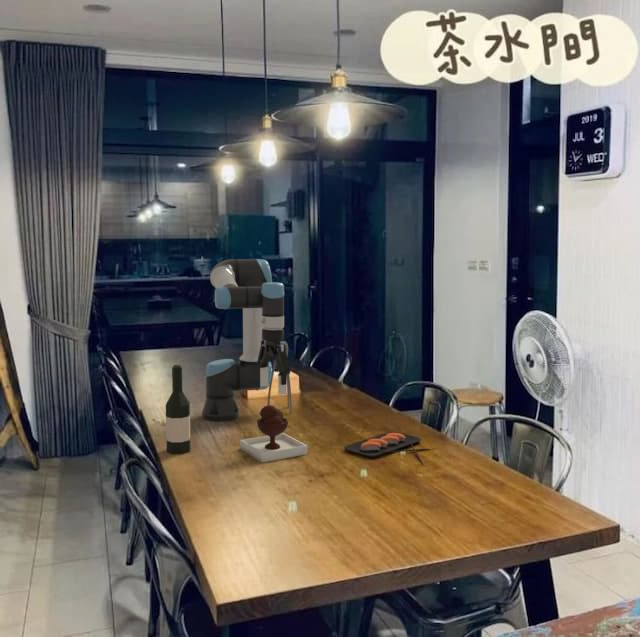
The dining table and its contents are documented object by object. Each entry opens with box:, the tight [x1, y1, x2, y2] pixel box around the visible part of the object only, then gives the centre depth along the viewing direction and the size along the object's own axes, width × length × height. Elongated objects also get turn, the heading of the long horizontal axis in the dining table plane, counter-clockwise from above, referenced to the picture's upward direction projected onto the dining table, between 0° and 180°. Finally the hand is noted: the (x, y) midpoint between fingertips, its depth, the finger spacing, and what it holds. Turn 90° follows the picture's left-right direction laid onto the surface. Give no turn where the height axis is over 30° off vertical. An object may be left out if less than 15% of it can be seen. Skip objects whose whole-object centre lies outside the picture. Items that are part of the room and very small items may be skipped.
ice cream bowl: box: [256, 404, 289, 450], centre depth 233 cm, size 11×11×15 cm
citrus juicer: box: [267, 340, 293, 415], centre depth 289 cm, size 11×10×30 cm
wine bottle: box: [165, 364, 192, 455], centre depth 232 cm, size 8×8×30 cm
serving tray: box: [239, 432, 309, 463], centre depth 233 cm, size 17×17×3 cm
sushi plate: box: [343, 431, 427, 465], centre depth 234 cm, size 29×30×4 cm
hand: (273, 390), depth 231 cm, fingers open, 13 cm apart
